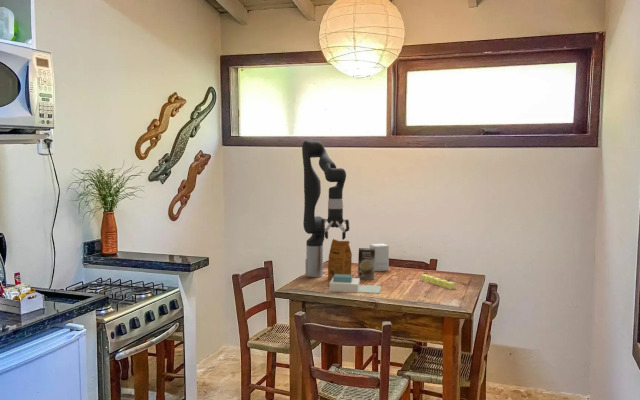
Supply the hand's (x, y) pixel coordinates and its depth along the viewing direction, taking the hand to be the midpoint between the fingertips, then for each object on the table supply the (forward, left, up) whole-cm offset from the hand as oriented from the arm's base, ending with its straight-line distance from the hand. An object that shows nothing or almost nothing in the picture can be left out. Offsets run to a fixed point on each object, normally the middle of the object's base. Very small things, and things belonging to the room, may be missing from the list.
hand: (335, 239), depth 267 cm
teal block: (+5, -3, -21) cm, 21 cm away
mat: (+18, -3, -25) cm, 31 cm away
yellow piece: (+54, +17, -25) cm, 62 cm away
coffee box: (+15, +23, -25) cm, 37 cm away
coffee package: (+1, +15, -25) cm, 29 cm away
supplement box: (+21, +46, -25) cm, 56 cm away
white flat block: (+6, -3, -25) cm, 25 cm away
